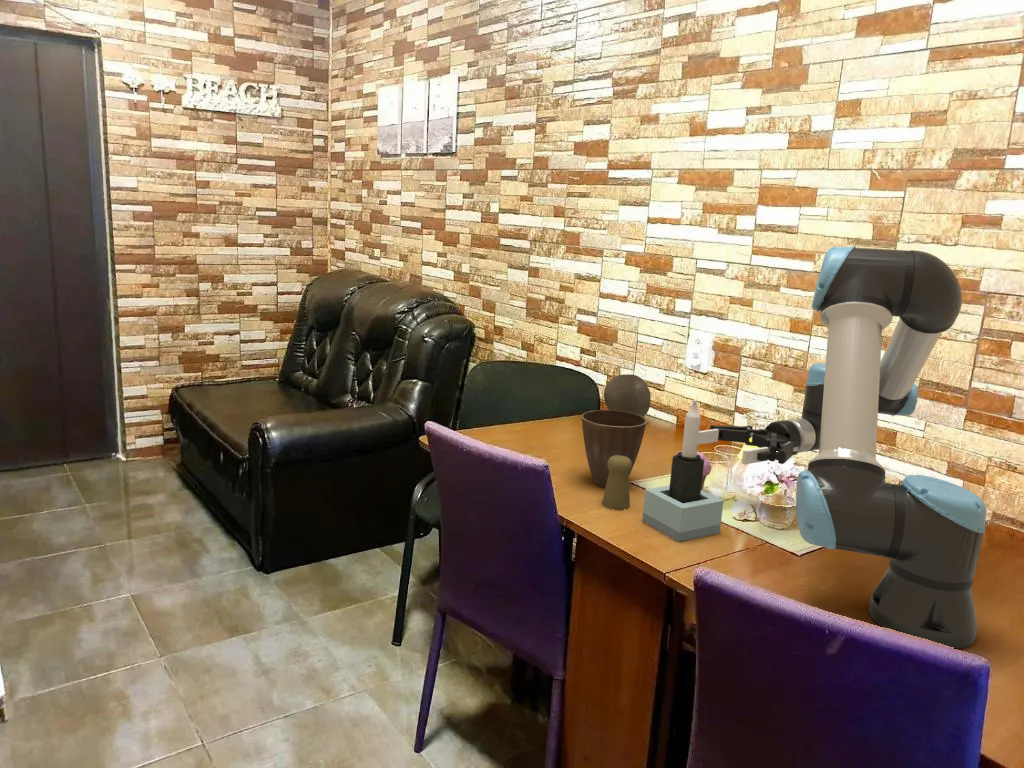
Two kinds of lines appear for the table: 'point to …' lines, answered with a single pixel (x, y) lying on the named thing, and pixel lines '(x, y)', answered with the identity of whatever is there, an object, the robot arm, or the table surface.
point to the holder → (682, 514)
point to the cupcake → (706, 468)
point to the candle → (688, 462)
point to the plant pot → (610, 439)
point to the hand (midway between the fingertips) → (718, 447)
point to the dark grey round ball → (627, 394)
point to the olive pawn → (617, 483)
